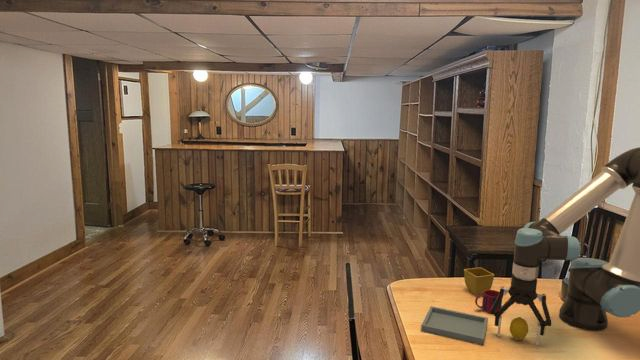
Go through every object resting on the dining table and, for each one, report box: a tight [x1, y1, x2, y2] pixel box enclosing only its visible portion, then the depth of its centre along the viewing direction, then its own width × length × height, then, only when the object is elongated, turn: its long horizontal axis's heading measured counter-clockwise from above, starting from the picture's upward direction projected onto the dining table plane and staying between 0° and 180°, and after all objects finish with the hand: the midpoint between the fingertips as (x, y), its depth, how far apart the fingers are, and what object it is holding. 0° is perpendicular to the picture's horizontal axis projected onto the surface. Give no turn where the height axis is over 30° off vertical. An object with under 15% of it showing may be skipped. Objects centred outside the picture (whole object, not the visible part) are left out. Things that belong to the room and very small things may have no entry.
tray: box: [420, 305, 489, 346], centre depth 156 cm, size 20×16×2 cm
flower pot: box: [463, 267, 495, 296], centre depth 184 cm, size 9×9×9 cm
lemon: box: [509, 316, 529, 341], centre depth 148 cm, size 6×6×8 cm
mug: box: [474, 289, 503, 315], centre depth 169 cm, size 7×10×7 cm
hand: (517, 339), depth 149 cm, fingers open, 11 cm apart
